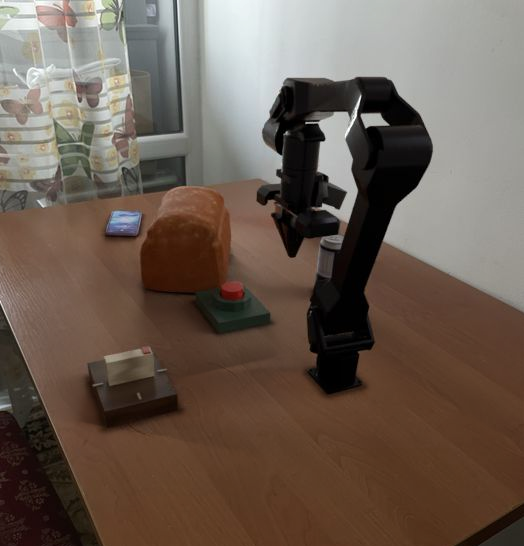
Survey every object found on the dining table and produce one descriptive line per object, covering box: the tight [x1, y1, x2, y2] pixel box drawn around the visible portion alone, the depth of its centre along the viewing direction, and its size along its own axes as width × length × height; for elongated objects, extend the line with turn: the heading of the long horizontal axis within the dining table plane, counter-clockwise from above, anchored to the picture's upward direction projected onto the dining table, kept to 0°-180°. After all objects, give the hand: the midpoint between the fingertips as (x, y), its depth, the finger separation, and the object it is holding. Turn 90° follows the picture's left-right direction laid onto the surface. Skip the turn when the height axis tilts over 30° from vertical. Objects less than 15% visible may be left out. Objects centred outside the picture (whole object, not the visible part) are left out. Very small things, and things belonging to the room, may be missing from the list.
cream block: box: [103, 345, 154, 386], centre depth 78 cm, size 6×2×4 cm, turn 116°
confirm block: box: [194, 283, 271, 334], centre depth 101 cm, size 12×10×4 cm
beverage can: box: [314, 233, 345, 284], centre depth 106 cm, size 6×6×12 cm
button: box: [221, 281, 243, 300], centre depth 99 cm, size 4×4×2 cm
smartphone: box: [105, 209, 143, 237], centre depth 135 cm, size 7×1×15 cm
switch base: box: [86, 349, 179, 429], centre depth 80 cm, size 12×11×3 cm
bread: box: [139, 185, 232, 294], centre depth 113 cm, size 17×24×15 cm
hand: (291, 256), depth 95 cm, fingers closed
